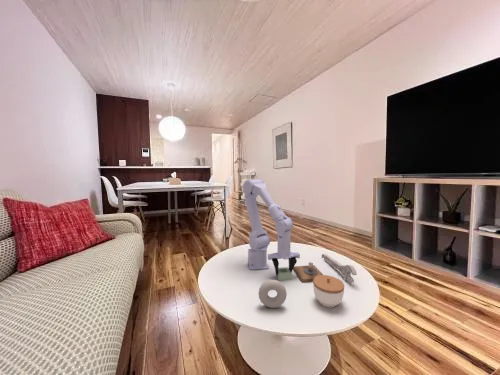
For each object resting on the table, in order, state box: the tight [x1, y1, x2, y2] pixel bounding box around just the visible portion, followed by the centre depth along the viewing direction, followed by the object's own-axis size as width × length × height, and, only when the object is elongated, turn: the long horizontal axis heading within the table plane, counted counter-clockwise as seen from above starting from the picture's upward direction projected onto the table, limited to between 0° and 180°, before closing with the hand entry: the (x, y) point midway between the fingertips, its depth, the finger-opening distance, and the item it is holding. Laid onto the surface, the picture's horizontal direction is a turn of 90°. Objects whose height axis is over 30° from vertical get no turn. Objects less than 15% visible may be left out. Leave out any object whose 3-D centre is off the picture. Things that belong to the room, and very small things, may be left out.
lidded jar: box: [312, 274, 345, 308], centre depth 78 cm, size 11×11×9 cm
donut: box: [258, 279, 288, 309], centre depth 75 cm, size 10×4×10 cm, turn 88°
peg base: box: [292, 261, 324, 283], centre depth 98 cm, size 11×12×6 cm
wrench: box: [321, 253, 357, 283], centre depth 102 cm, size 8×2×30 cm
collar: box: [276, 266, 292, 281], centre depth 96 cm, size 6×6×3 cm
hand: (283, 273), depth 96 cm, fingers closed on collar, 6 cm apart
